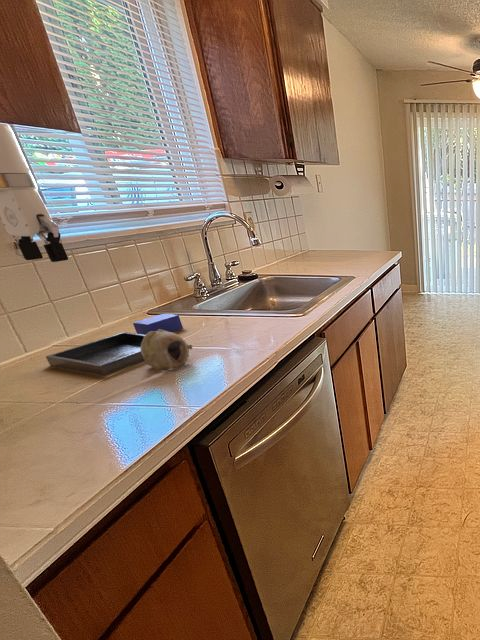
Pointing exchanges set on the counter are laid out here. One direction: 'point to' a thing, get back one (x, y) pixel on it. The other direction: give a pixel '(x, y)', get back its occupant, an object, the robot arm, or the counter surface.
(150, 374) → the counter surface
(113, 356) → the tray
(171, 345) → the beige rounded hollow piece
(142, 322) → the blue block
